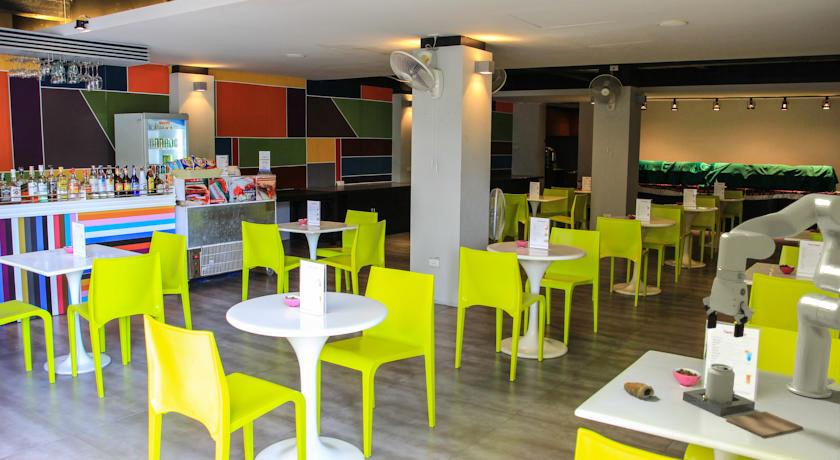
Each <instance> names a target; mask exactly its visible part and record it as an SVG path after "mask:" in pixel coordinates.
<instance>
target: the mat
mask: <svg viewBox="0 0 840 460" xmlns="http://www.w3.org/2000/svg"><path fill="white" fill-rule="evenodd" d="M725 421H726V422H727V423H729V424H731V425H734V426H735V427H739V428H741V429H742V430H745V431H746V432H749V433H751V434H753V435H756V436H757V437H761V438H762V439H763V438H767V437H773V436H777V435H783V434H786V433H791V432H795V431H800V430H803V429H804V426H801V425H799V424H797V423H795V422H792V421H790V420H788V419H784V418H782V417H780V416H777V415H775V414H773V413H770V412H769V411H760V412H756V413H751V414H746V415H740V416H735V417H729V418H726V419H725Z"/></svg>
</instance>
